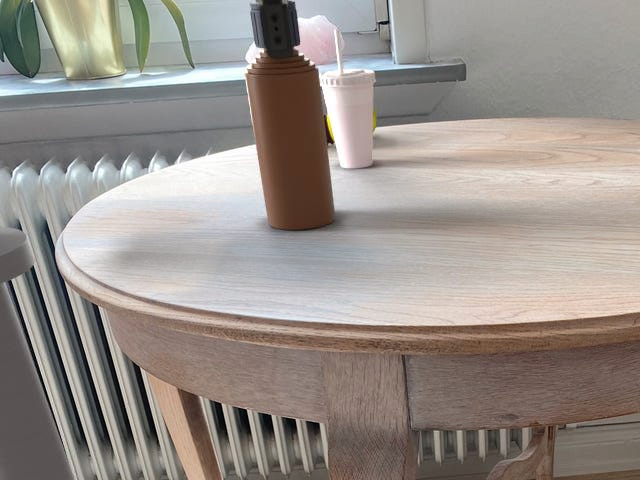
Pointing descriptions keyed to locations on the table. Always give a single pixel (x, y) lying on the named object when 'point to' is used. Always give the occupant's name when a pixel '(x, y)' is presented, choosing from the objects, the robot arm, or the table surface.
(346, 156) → the smoothie
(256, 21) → the cap
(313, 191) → the bottle
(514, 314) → the table surface
